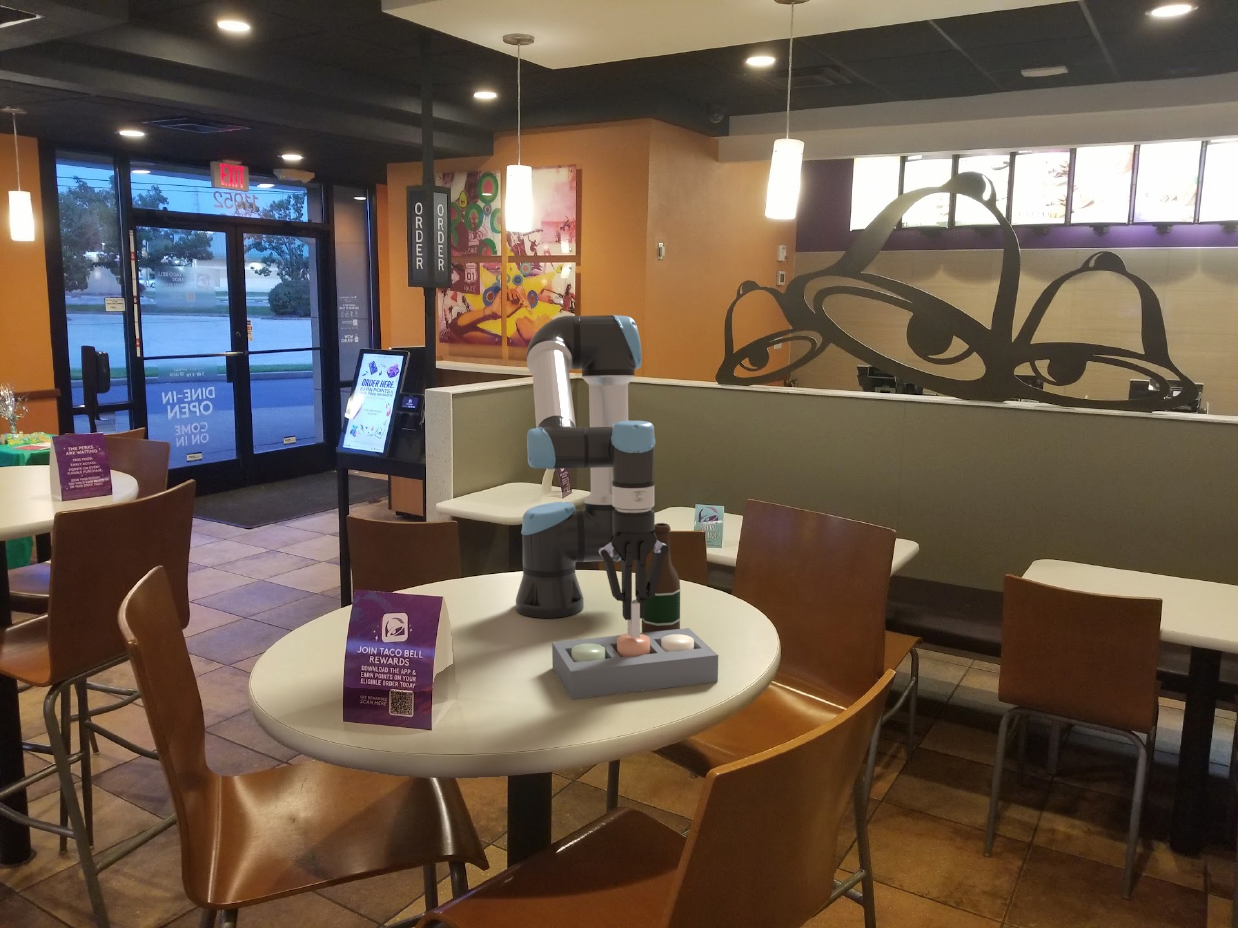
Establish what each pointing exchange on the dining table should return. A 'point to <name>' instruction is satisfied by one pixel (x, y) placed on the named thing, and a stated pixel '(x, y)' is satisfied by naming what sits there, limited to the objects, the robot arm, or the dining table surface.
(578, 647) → the button sage
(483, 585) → the dining table surface
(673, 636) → the button cream
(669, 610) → the beer bottle
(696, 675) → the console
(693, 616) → the dining table surface
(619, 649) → the button terracotta
